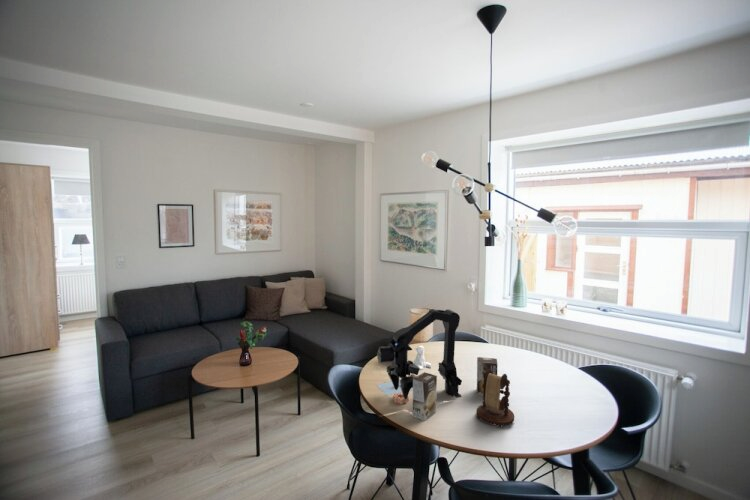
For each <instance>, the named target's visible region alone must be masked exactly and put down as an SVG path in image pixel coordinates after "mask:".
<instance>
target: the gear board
mask: <svg viewBox="0 0 750 500" xmlns="http://www.w3.org/2000/svg"><path fill="white" fill-rule="evenodd" d="M400 380H401V379H399V387H398V389H397V390H395V388H394V386H393V383H392V381H388V382H382V383H376V386H378V387H379V389H380V390H381V391H382V392H383V394H385V395H386V396H393V395H394V394H395V393H399V392H401V393H402V390H401V387H400V385H401V384H400ZM411 391H412V392H413V387H412V388H411V389H410V391H409V392H411Z"/></svg>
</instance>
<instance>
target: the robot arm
mask: <svg viewBox="0 0 750 500" xmlns="http://www.w3.org/2000/svg"><path fill="white" fill-rule="evenodd" d="M460 320H461V317H460V314H458V313H457V312H455V311H454V310H452V309H448V308H447V309H446V310H442V309H435V308H432V309H429V310H428V312H426V313H425V314H424V315H422V316H420V317H419V318H418V319H417V320H415V321H414V322H413V323H411V324H410V325H408V326H406V327H401V328H400V329H397V330H396V331H395V332H394V333H393V336H392V338H391V340H390V341H389V343H388V346H378V350H377V352H376V357H377V362H378V363H379V364H383V363H385V364H386V363H392V364H389V365H387V367H386V373H387V375H388V377H389V378H390V382H392V383H393V386H394V388H395V390H397V389H398V384H399V380H400V384H401V385H400V387H401V390H402V394H403V397H404V399H407V397H408V396H409V394H410V392H411V391H410V389H411V388H412V387H413V378H412V377H411V376H410V377H407V376H409V375H411V374H414V375H415V376H419V372H420V371H421V370H420V368H419V367H418V366H416V365H414V361H412V360H409V357H408V354H409V353H408V352H409V351H412V350H413V348H412V347H411V346H410V344H411V342H412V341H413V340H414V338H415V336H416V335H417V334H419V333H420V332H422V331H423V330H425V329H426V328H427V327H428V326H429V325H431V324H432V323H434V322H435V321H441V322H442V326H443V328H444V337H443V338H444V341H443V357H442V358H443V359H442V361H441V362H438V369H437V371H438V373H439V375H440V376H441V377H442V379H443V380H444V392H445V393H444V394H446V395H447V396H451V397H455V398H459V397H462V394H460V393H459V386H461V385H462V381H463V380H462V379H461V378H460V377H459V376H458V372H457V367H456V363H455V347H456V345H455V344H456V331H457V329H458V327H459V324H460ZM396 343H397V345H395V344H396ZM408 344H409V345H408ZM394 358H395V361H394Z"/></svg>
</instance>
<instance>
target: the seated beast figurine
mask: <svg viewBox="0 0 750 500" xmlns="http://www.w3.org/2000/svg"><path fill="white" fill-rule="evenodd" d="M414 349H415V351H416V355H415V358H414V360H413V364H414V365H416V366H418V367H419V368H420V370H419V371H422V370H423V368H427V369H431V368H432V367H433V366H432V363H430V362H427V361H425V359H426V358H425V355H424V353H425V347H424V346H423V345H419V346H417V347H414Z"/></svg>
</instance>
